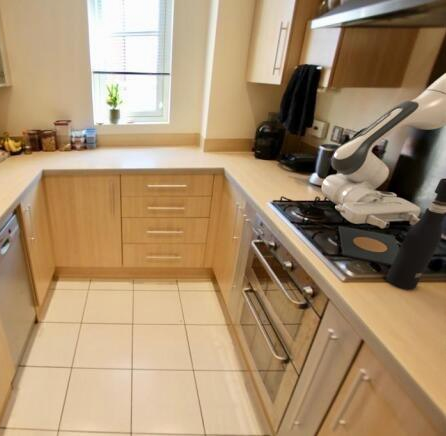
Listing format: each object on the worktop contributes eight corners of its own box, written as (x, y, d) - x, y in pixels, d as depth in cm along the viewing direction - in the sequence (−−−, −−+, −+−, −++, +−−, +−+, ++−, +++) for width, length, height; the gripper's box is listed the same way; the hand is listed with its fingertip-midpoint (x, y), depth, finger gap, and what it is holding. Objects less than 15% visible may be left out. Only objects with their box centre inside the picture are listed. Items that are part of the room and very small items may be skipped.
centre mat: (393, 237, 108) (394, 235, 107) (407, 269, 92) (408, 267, 92) (338, 227, 114) (339, 225, 114) (342, 255, 99) (343, 253, 99)
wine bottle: (389, 272, 91) (435, 174, 77) (417, 282, 87) (472, 181, 73) (383, 282, 88) (431, 181, 73) (412, 293, 83) (469, 188, 69)
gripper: (334, 196, 96) (370, 217, 84) (397, 192, 97) (442, 212, 85) (328, 214, 99) (362, 237, 87) (390, 210, 100) (432, 232, 88)
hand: (402, 224), depth 86 cm, fingers open, 8 cm apart
